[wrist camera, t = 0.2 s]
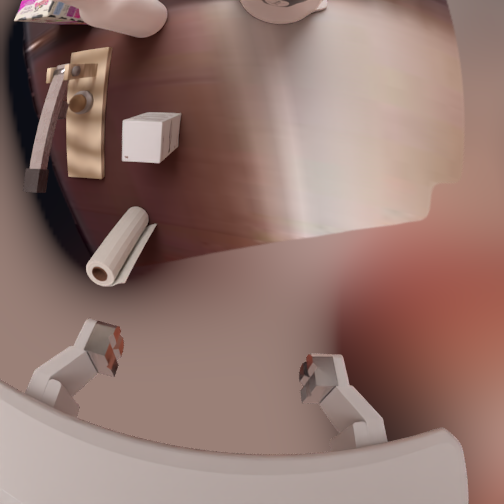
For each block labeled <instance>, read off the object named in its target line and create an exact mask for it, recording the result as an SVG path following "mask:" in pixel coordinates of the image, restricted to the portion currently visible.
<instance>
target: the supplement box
mask: <svg viewBox="0 0 504 504" xmlns="http://www.w3.org/2000/svg"><path fill="white" fill-rule="evenodd" d="M180 120H181V113H160V112H148V113H144V114H141V115H138V116H135V117H132V118H129V119H126V120H123V125H122V161H130V162H148V163H160V162H161V161H163V160H164V159H165V158H166V157H167V156H168V155H169V154H170V153H171V152H173V151H174V150H175V149H176V148H177V147H178V141H179V128H180Z"/></svg>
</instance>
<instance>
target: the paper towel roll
mask: <svg viewBox="0 0 504 504" xmlns="http://www.w3.org/2000/svg"><path fill="white" fill-rule="evenodd" d="M148 221H149V218H148V214H147V213H146V211H145V210H143V209H142V208H140V207H132V208H130V209H128V211H127V212H126V213H125V214H124V215H123V217H122V218H121V219H120V220H119V222H118V223H117V224H116V226H115V227H114V228H113V229H112V231H111V232H110V233H109V235H108V236H107V237H106V239H105V240H104V241H103V243H102V244H101V245H100V247H99V248H98V249H97V251H96V252H95V253H94V255H93V256H92V258H91V259H90V260H89V262H88V264H87V265H86V271H87V274H88V276H89V277H90V279H91V280H92V281H94V282H95V283H96V284H98V285H101V286H114V285H116V284H118V283H125V282H126V280H127V278H128V276H129V274H130V272H131V270H132V268H133V266H134V264H135V262H136V261H137V259H138V257H139V255H140V253H141V251H142V250H143V248H144V246H145V244H146V242H147V241H148V239H149V237H150V235H151V234H152V232H153V230H154V228H155V227H156V225H157V224H152V225H150V226H148V227H146V226H147V225H148Z"/></svg>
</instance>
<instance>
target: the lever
mask: <svg viewBox="0 0 504 504" xmlns="http://www.w3.org/2000/svg"><path fill="white" fill-rule="evenodd" d="M69 64H70V63H69ZM65 65H67V64H63V65H58V66H57V69H56V70H55V71H54V73H53V79H52V82H51V85H50V88H49V91H48V94H47V97H46V100H45V103H44V107H43V110H42V114H41V117H40V121H39V125H38V129H37V133H36V138H35V142H34V147H33V152H32V158H31V163H30V169H26V173H25V180H24V189H23V191H25V192H46V185H47V179H48V172H49V170H47V164H48V159H49V154H50V149H51V144H52V139H53V135H54V131H55V126H56V122H57V119H65V118H66V114H67V110H68V107H69V104H68V103H67V102H65V101H63V98H64V95H65V92H66V89H67V86H68V83H69V80H64V70H65Z"/></svg>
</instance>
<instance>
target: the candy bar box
mask: <svg viewBox="0 0 504 504" xmlns="http://www.w3.org/2000/svg"><path fill="white" fill-rule="evenodd" d="M14 21H27V22H41V23H51V24H59V25H62V24H85V25H88V24H87V23H86V22H84V21H83V20H82V19H81V17H80V13H79V9H78V8H76V7H73V6H70V5H68V4H65V3H62V2H55V1H52V0H51V1H50V0H22V2H21V4H20V7H19V9H18V12H17V15H16V17H15V19H14Z"/></svg>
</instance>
